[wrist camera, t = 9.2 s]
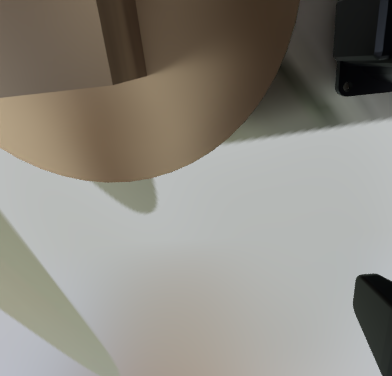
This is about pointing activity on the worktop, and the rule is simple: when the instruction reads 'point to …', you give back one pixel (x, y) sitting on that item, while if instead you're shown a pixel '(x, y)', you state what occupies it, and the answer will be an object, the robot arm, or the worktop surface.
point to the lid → (133, 80)
